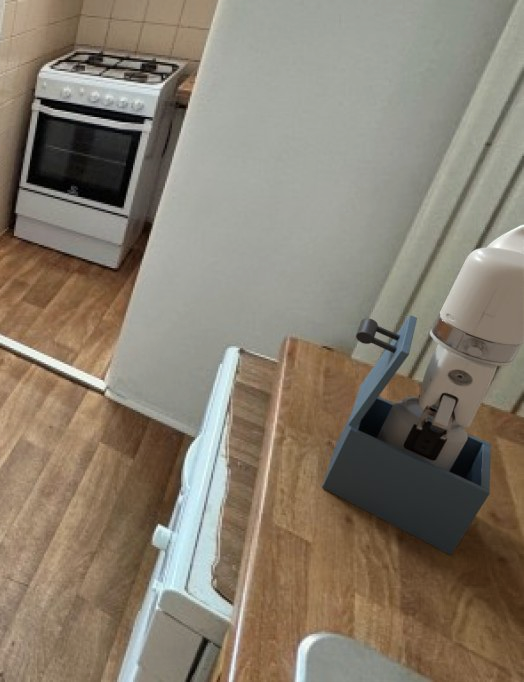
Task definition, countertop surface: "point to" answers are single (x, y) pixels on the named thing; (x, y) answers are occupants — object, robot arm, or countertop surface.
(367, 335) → the lid
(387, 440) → the can
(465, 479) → the compartment
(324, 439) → the countertop surface
